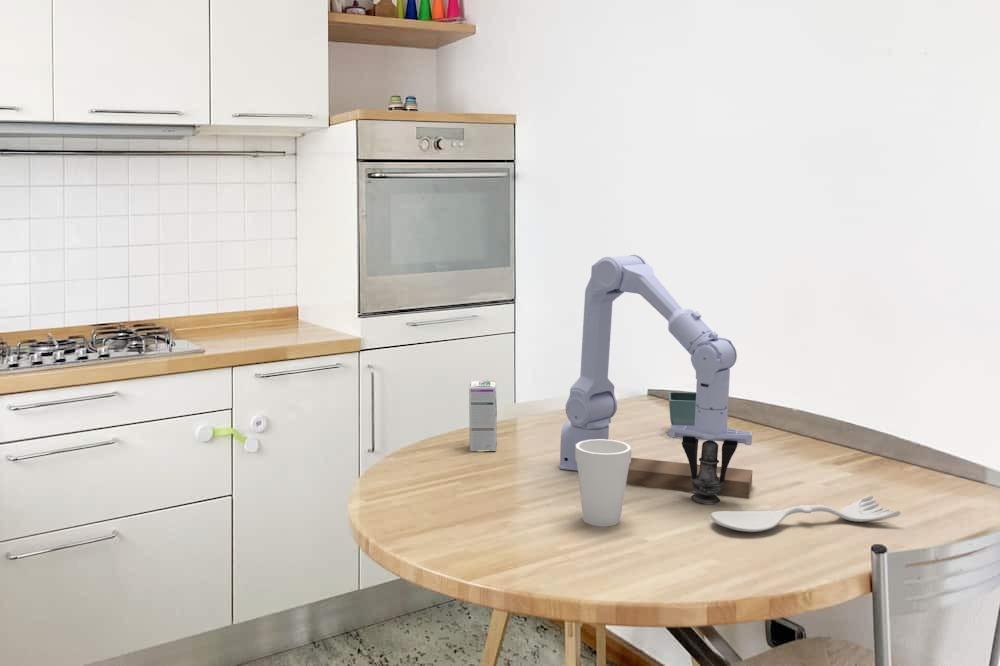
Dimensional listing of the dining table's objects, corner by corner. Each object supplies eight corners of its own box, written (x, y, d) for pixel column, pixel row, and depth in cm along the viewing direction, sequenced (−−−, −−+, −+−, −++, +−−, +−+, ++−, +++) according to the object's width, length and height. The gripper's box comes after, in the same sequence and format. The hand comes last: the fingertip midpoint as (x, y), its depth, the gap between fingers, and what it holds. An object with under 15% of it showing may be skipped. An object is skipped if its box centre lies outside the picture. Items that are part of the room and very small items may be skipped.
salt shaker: (722, 506, 168) (728, 441, 166) (688, 502, 169) (694, 438, 167) (721, 495, 174) (727, 433, 172) (689, 492, 175) (694, 430, 173)
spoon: (900, 529, 159) (902, 509, 158) (724, 541, 152) (725, 521, 152) (870, 511, 167) (871, 492, 167) (702, 522, 161) (702, 502, 161)
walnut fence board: (620, 483, 180) (620, 466, 180) (628, 471, 188) (628, 455, 187) (748, 498, 173) (749, 480, 172) (751, 485, 180) (752, 468, 180)
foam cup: (564, 514, 163) (566, 442, 161) (611, 507, 167) (613, 437, 165) (590, 533, 155) (592, 457, 153) (639, 525, 158) (641, 451, 156)
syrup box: (496, 452, 201) (496, 386, 198) (468, 452, 201) (469, 385, 198) (496, 445, 206) (497, 380, 204) (469, 444, 206) (470, 380, 204)
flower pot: (667, 438, 213) (669, 399, 212) (667, 428, 222) (668, 391, 220) (706, 440, 212) (708, 401, 210) (705, 430, 220) (706, 393, 219)
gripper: (667, 407, 167) (664, 480, 170) (751, 414, 163) (747, 489, 165) (673, 399, 174) (671, 469, 176) (754, 405, 169) (750, 478, 171)
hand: (708, 478), depth 171 cm, fingers open, 4 cm apart
